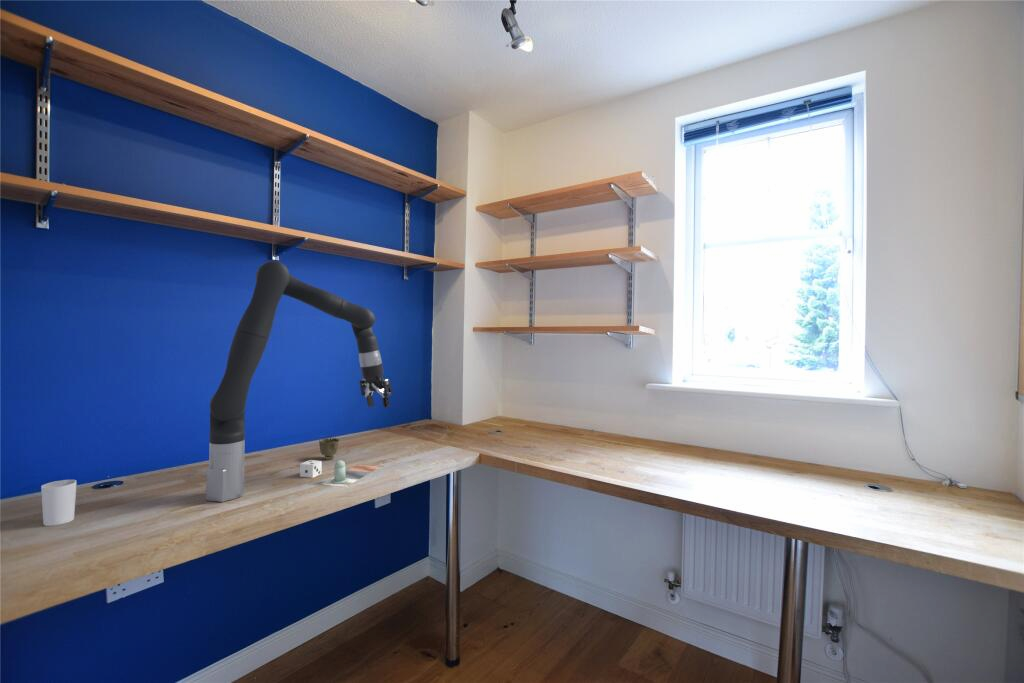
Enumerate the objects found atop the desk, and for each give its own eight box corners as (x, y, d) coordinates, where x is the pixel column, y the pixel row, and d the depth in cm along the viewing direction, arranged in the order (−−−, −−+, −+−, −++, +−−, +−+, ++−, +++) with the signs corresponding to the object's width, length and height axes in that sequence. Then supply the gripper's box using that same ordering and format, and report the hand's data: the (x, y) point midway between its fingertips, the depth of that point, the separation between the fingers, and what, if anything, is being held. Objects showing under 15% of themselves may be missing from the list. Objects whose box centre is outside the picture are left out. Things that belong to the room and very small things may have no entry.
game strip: (346, 488, 147) (346, 487, 147) (316, 485, 149) (316, 484, 149) (383, 467, 172) (383, 466, 172) (357, 464, 174) (357, 463, 174)
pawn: (342, 484, 150) (342, 463, 150) (328, 483, 151) (328, 461, 151) (350, 480, 155) (351, 459, 155) (337, 478, 156) (337, 457, 156)
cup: (331, 462, 177) (331, 442, 177) (314, 460, 179) (315, 440, 179) (342, 457, 184) (342, 438, 184) (326, 456, 186) (326, 436, 186)
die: (312, 479, 157) (312, 464, 156) (299, 478, 158) (300, 463, 157) (321, 474, 161) (321, 460, 161) (309, 473, 162) (309, 459, 162)
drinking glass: (83, 515, 122) (83, 479, 122) (62, 525, 116) (63, 487, 116) (55, 516, 121) (55, 480, 121) (33, 527, 115) (33, 488, 115)
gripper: (350, 366, 163) (358, 409, 165) (375, 365, 155) (384, 410, 157) (366, 362, 169) (374, 403, 171) (392, 361, 162) (400, 404, 163)
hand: (379, 406), depth 164 cm, fingers open, 8 cm apart
